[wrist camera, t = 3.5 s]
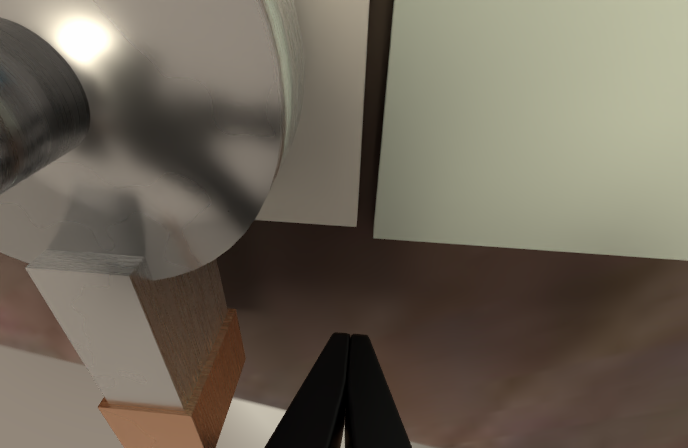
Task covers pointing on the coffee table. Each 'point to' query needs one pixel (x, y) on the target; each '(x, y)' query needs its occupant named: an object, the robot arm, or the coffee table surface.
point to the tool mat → (537, 126)
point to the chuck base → (326, 119)
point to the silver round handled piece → (144, 186)
